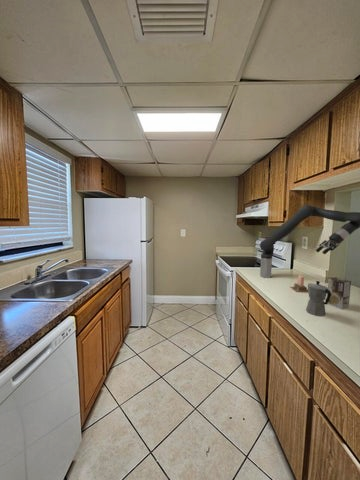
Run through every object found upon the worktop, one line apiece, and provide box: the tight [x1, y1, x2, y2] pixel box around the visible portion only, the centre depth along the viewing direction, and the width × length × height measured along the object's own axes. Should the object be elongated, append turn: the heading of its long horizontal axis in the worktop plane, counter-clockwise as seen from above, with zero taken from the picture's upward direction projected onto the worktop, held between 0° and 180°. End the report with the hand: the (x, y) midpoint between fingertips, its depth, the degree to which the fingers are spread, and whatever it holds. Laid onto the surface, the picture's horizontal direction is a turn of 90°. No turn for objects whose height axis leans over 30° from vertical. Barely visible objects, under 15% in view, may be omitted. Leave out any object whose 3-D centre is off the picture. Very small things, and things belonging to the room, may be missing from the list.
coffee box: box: [327, 277, 352, 310], centre depth 123 cm, size 9×6×16 cm
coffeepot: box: [305, 280, 331, 317], centre depth 112 cm, size 15×9×18 cm, turn 6°
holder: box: [289, 282, 308, 294], centre depth 148 cm, size 12×10×5 cm
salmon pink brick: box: [296, 274, 305, 287], centre depth 148 cm, size 5×2×10 cm, turn 173°
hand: (319, 252), depth 144 cm, fingers open, 8 cm apart
